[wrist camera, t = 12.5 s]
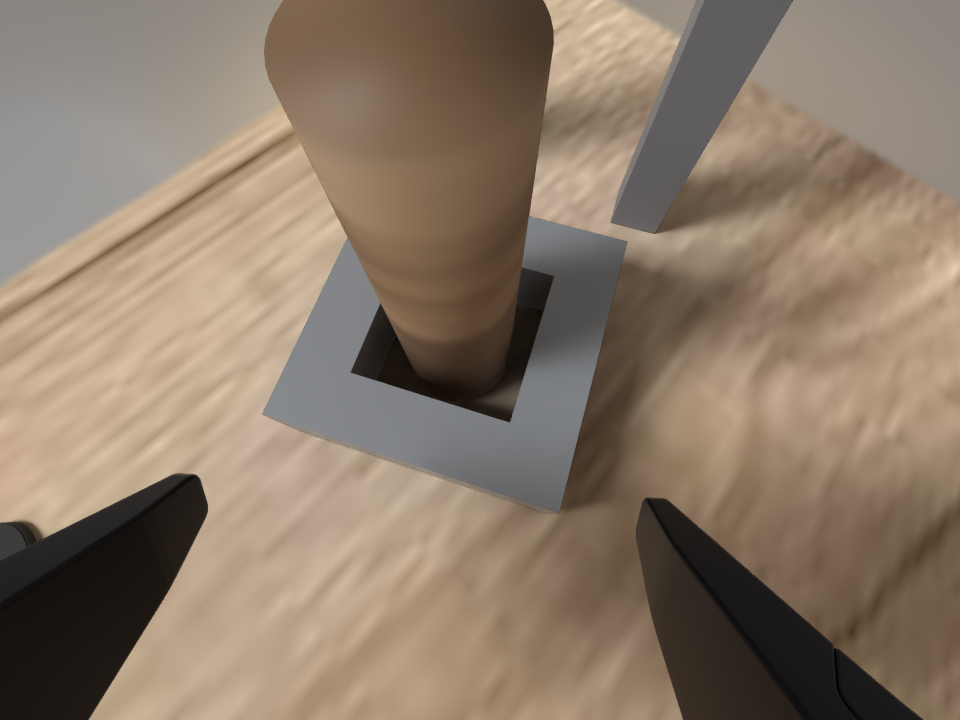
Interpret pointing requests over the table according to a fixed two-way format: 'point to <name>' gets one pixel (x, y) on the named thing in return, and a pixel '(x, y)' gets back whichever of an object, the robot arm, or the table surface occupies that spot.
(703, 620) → the robot arm
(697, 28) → the teal topped stool
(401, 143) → the peg
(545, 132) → the table surface
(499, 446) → the socket
